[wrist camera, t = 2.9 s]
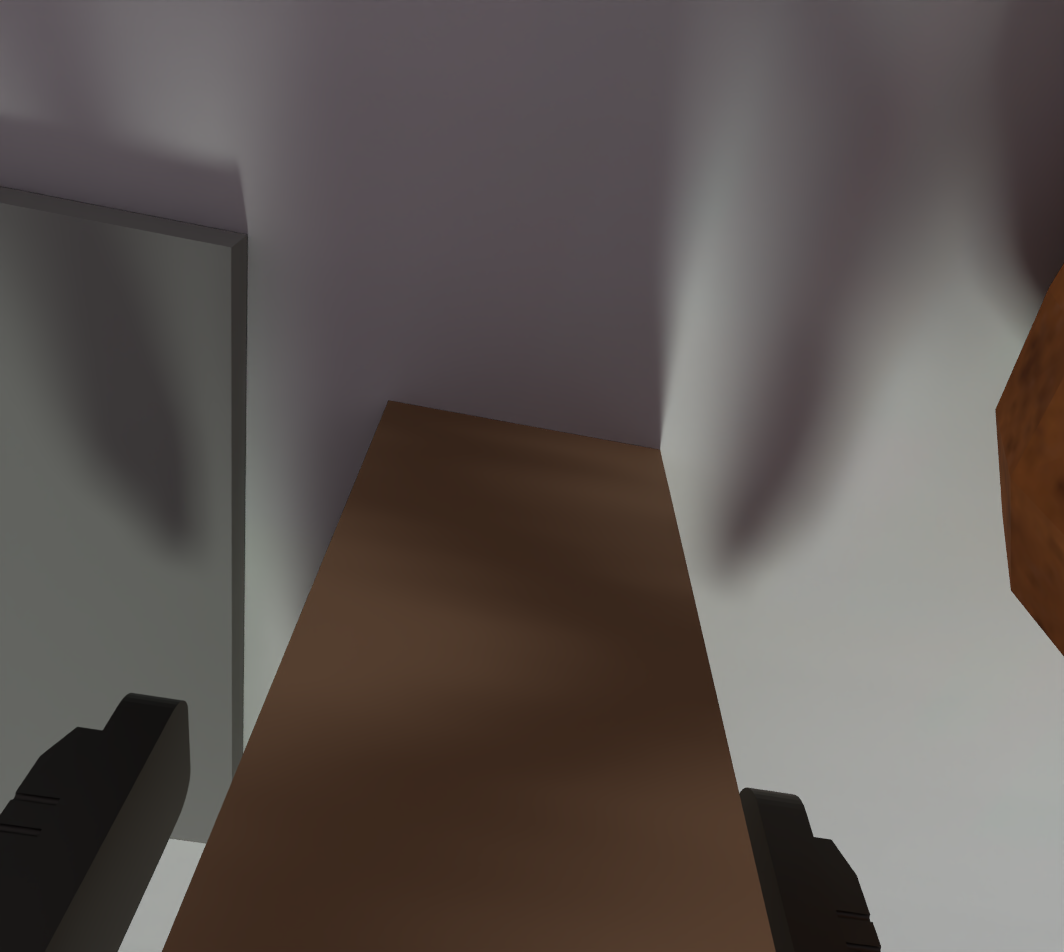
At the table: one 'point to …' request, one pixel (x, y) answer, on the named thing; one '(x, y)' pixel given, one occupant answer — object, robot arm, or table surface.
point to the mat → (121, 482)
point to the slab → (488, 721)
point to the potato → (1036, 467)
